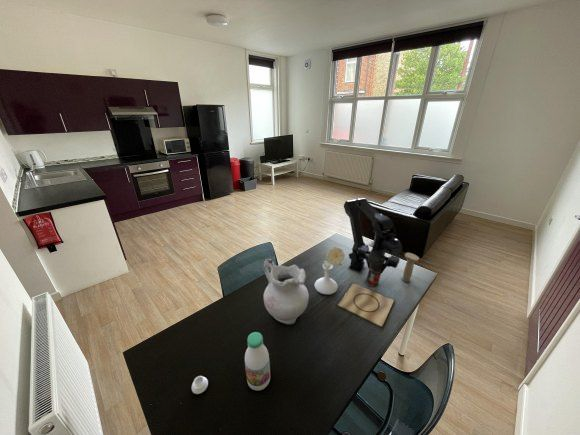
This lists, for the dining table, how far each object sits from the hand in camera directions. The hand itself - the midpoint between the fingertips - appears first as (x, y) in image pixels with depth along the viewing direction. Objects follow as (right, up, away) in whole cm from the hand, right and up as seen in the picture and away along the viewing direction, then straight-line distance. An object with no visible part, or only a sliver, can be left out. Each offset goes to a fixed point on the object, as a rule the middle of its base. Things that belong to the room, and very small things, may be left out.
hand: (375, 270), depth 118 cm
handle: (+18, -7, +6) cm, 20 cm away
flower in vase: (-24, -9, 0) cm, 26 cm away
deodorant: (0, -7, +4) cm, 8 cm away
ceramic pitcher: (-45, -16, -12) cm, 49 cm away
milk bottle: (-53, -28, -38) cm, 71 cm away
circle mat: (-7, -13, -8) cm, 17 cm away
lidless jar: (-72, -29, -40) cm, 87 cm away
